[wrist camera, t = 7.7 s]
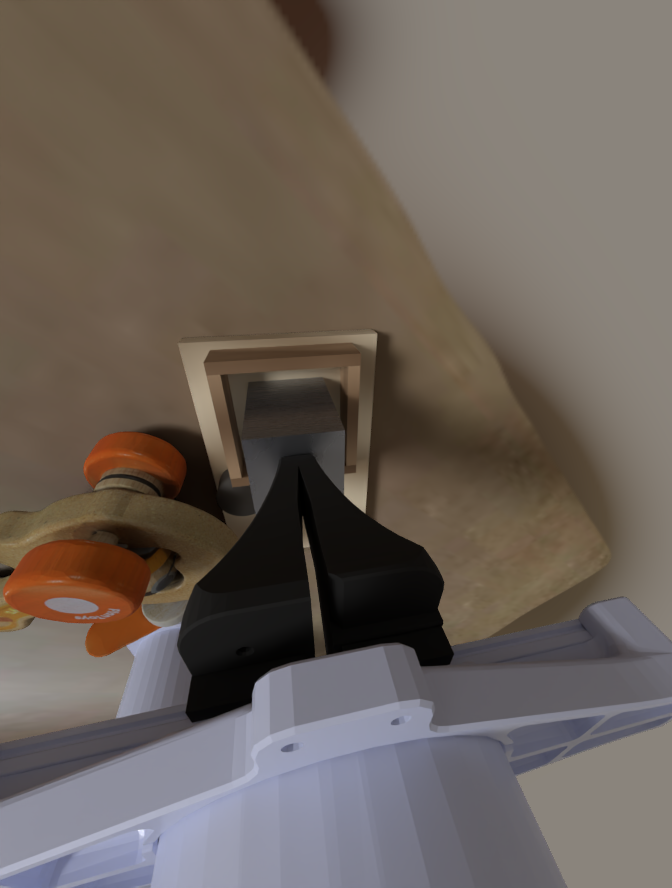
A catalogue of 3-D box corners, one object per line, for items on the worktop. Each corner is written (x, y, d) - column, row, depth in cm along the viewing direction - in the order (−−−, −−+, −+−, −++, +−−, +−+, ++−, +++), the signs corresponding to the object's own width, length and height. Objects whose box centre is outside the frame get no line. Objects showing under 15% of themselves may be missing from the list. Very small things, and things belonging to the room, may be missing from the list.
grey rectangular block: (324, 438, 20) (343, 504, 15) (258, 444, 19) (256, 516, 14) (322, 376, 17) (345, 430, 12) (248, 382, 17) (241, 440, 12)
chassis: (360, 529, 26) (370, 559, 24) (236, 547, 25) (233, 581, 22) (372, 329, 18) (389, 343, 15) (182, 338, 16) (167, 355, 14)
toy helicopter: (156, 408, 16) (291, 526, 25) (-84, 521, 21) (103, 585, 30) (77, 566, 10) (289, 643, 20) (-225, 669, 15) (57, 692, 25)
